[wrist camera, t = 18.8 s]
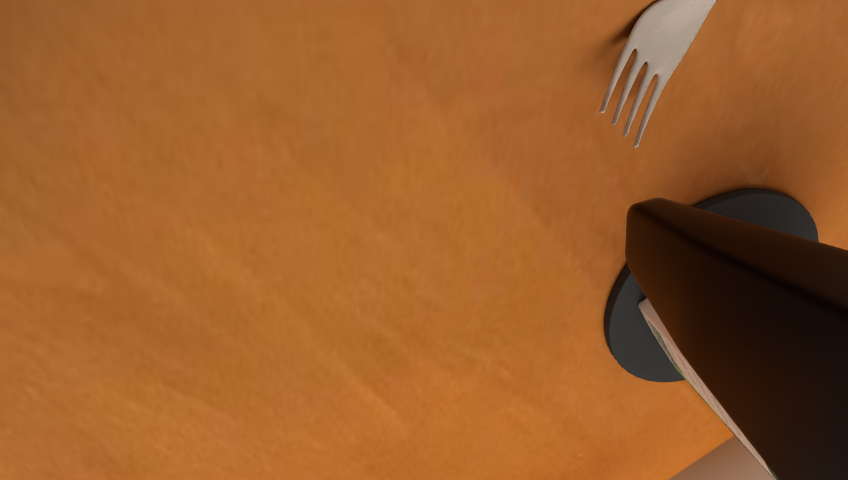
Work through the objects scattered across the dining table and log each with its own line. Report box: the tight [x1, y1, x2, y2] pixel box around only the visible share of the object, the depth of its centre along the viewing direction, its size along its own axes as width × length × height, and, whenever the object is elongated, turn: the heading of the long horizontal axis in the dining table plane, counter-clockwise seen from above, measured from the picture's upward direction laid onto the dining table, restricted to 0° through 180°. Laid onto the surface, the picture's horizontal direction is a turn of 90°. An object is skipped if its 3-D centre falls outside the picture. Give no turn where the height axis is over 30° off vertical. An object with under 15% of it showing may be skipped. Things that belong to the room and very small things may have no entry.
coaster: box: [604, 189, 819, 382], centre depth 30 cm, size 11×11×1 cm
